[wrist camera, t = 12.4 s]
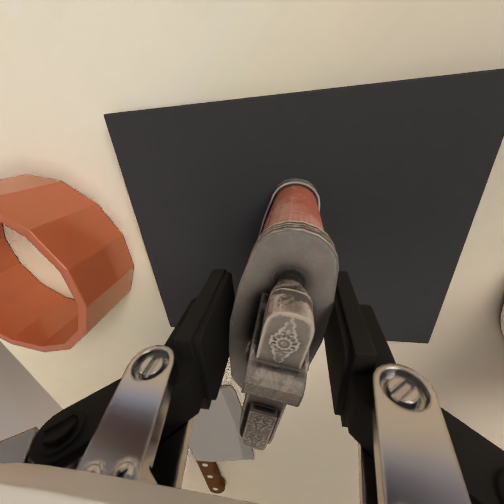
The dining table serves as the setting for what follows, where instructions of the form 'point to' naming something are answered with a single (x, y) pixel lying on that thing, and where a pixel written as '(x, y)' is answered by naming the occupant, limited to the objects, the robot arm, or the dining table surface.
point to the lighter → (281, 309)
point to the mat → (319, 184)
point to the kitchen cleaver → (218, 437)
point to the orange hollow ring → (58, 264)
